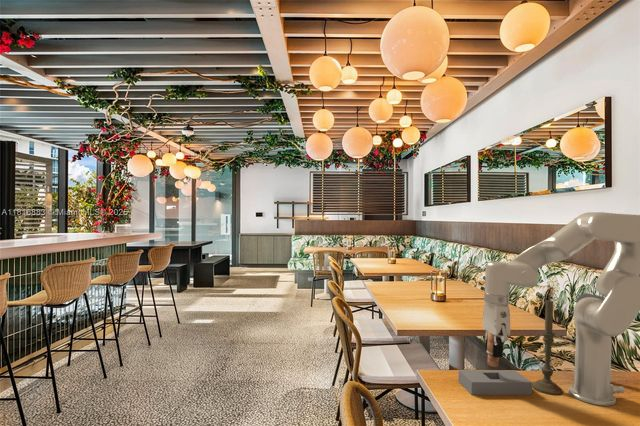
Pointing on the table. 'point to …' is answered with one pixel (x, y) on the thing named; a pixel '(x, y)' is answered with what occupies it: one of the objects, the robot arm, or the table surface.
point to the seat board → (494, 382)
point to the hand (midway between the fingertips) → (493, 353)
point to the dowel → (491, 351)
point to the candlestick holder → (548, 356)
